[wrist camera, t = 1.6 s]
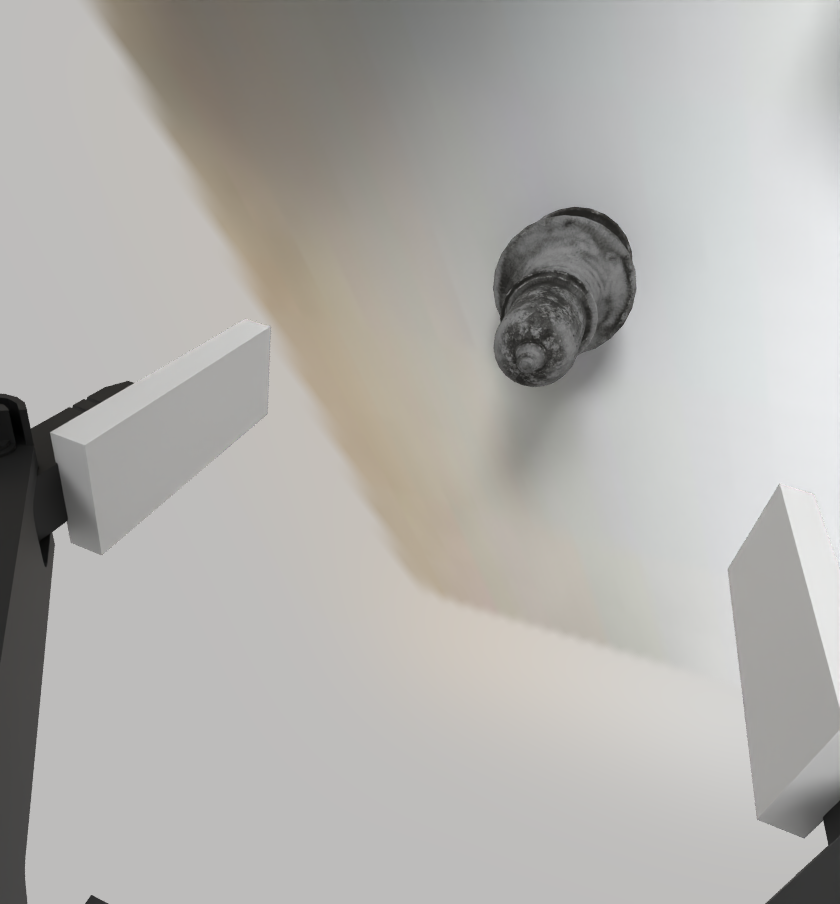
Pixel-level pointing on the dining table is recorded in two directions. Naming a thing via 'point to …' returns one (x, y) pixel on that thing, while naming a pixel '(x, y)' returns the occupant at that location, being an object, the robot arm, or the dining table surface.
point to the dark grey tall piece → (560, 293)
